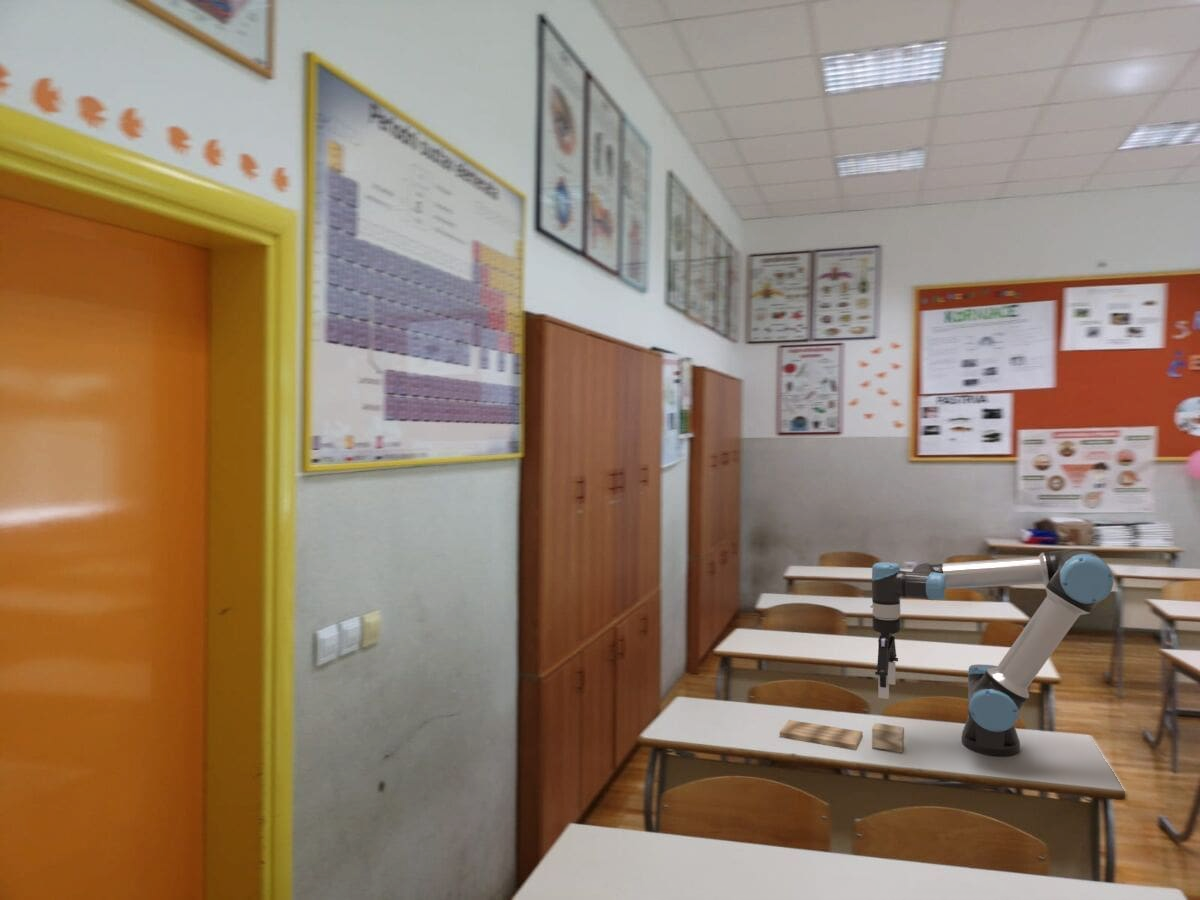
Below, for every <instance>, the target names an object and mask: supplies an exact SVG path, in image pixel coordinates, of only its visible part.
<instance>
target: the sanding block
mask: <svg viewBox="0 0 1200 900" xmlns="http://www.w3.org/2000/svg"><path fill="white" fill-rule="evenodd" d="M871 729H872V730H871V731H872V732H871V733H872V735H871V737H872V738H871V739H872V740H871V743H872V744H871V745H872V746H871V747H872V750H877V751H884V752H889V753H895V754H901V755H903V751H904V749H905V727H904V726H900V725H899V726H897V725H891V724H884V723H880V722H874V724H873V726H872V728H871Z"/></svg>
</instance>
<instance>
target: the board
mask: <svg viewBox="0 0 1200 900" xmlns="http://www.w3.org/2000/svg"><path fill="white" fill-rule="evenodd" d="M779 737H780V738H782V739H783V738H784V739H790V740H795V741H800V742H807V743H813V744H817V745H818V744H820V745H824V746H830V747H836V748H841V749H842V748H843V749H848V750H853V751H856V750H857V748H858V747H859V744H860V742H861V740H863V739H862V738H863V731H860V730H854V729H847V728H841V727H837V726H832V725H831V726H829V725H822V724H818V723H817V724H816V723H811V722H805V721H798V720H793V719H792V720H791V719H788V721H786V723H785V724H784V726H783V727H782V728H781V729H780V731H779Z"/></svg>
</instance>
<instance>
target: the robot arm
mask: <svg viewBox="0 0 1200 900" xmlns="http://www.w3.org/2000/svg"><path fill="white" fill-rule="evenodd" d="M1040 584H1041V585H1044V586H1045V593H1046V597H1045V598H1044V600H1043V601H1042V603H1041V604H1040V605H1039V607H1038V608H1037V610H1036V611H1035V613H1033V615H1032V617H1031V618H1030V620H1029V621H1028V622H1027V624H1026V626H1024V628H1023V629H1022V631H1021V633H1019V636H1018V637H1017V638H1016V640H1015V641H1014V642H1013V644H1012V645H1011V646H1010V648H1009V649H1008V651H1007V652H1006V654H1005V655H1004V657H1003V658H1002V659H1001V660H1000V663H998V665H993V664H972V665H970V666H969V667H968V672H967V676H968V677H967V678H968V679H967V680H968V681H967V682H968V684H967V686H968V687H967V690H968V695H967V697H968V698H967V699H968V702H967V703H968V704H967V707H968V708H967V709H968V715H967V718H966V721H965V724H964V727H963V730H962V733H961V744H963V746H964V747H965V748H967V749H969V750H972V751H974V752H976V753H979V754H984V755H990V756H995V757H1006V756H1010V757H1011V756H1013V755H1016V754H1019V753H1020V751H1021V741H1020V738H1019V735H1018V732H1017V730H1016V727H1015V724H1016V723H1017V721H1018V718H1019V714H1020V713H1019V711H1020V710H1021V709H1022V707H1023V706H1024V704H1025V703H1026V701H1028V699H1029V698H1030V694H1029V691H1028V690H1029V689H1028V688H1029V686H1030V684H1031V683H1032V682H1033V681H1034V679H1036V676H1038V674H1039V672H1040V671H1041V670H1042V668H1043V667H1044V665H1045V664H1046V662H1047V661H1048V660H1049V659H1050V657H1051V656H1052V655H1053V653H1054V652H1055V650H1056V649H1057V647H1058V646H1059V645H1060V643H1061V642H1062V641H1063V639H1064V638H1065V636H1066V635H1067V633H1068V632H1069V631H1070V630H1071V628H1072V627H1073V625H1074V623H1076V621H1077V619H1078V618H1079V617H1080V616H1081V615H1088V614H1090V613H1091V612H1092V611H1093V609H1094V608H1095V607H1096V606H1097V603H1099V602H1101V601H1103V600H1105V599H1106V598H1107V597H1108V596H1109V595H1110V593H1111V591H1113V590H1112V589H1113V587H1114V576H1113V572H1112V570H1111V568H1110V566H1109V565H1108V564H1107V563H1106V562H1105V560H1103V559H1102V558H1101V557H1100V556H1098V555H1097V554H1096V553H1094V552H1093V551H1090V550H1088V549H1086V548H1070V549H1063V550H1055V551H1054V550H1053V551H1047V552H1046V551H1044V552H1041V553H1040V554H1039V555H1038V556H1027V557H1013V558H1012V557H1011V558H1001V559H999V558H998V559H986V560H985V559H983V560H973V561H972V560H971V561H959V562H958V561H957V562H945V563H929V562H922V563H919V564H917V565H916V566H915V567H914V568H913V569H912V570H911V571H906V570H901V567H900V564H898V563H895V562H888V561H887V562H885V561H884V562H882V561H881V562H876V563H874V564H873V565H872V567H871V598H872V599H871V600H872V604H871V603H870V608H872V616H873V617H872V630H873V631H874V632H876V633H879V634H880V635H879V637H878V640H877V641H878V645H877V646H878V651H877V666H876V667H877V668H876V671H875V673H874V675H875V676H877V680H878V681H877V682H878V683H877V685H878V686H877V689H878V690H877V691H878V697H877V698H879V699H886V700H889V699H890V685H892V686H893V685H896V684H897V683H896V681H897V680H896V678H897V677H896V675H897V674H896V662H899V657H897V650H896V649H897V648H896V638H895V634H898V633H899V632H901V619H900V617H901V599H902V598H904V599H905V598H906V599H916V600H917V599H918V600H930V601H934V600H935V601H938V600H939V601H940V600H941V601H942V600H944V599H945V598H946V590H953V589H970V588H987V587H989V588H990V587H991V588H992V587H1007V586H1009V587H1010V586H1023V585H1024V586H1026V585H1040Z"/></svg>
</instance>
